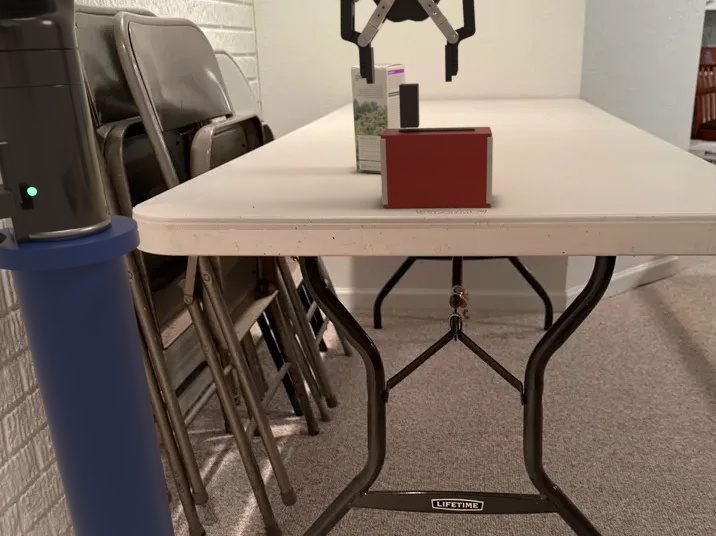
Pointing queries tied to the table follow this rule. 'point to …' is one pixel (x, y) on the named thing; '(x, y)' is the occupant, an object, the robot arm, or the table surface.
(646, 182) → the table surface
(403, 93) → the block
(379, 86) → the syrup box
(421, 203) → the toaster
